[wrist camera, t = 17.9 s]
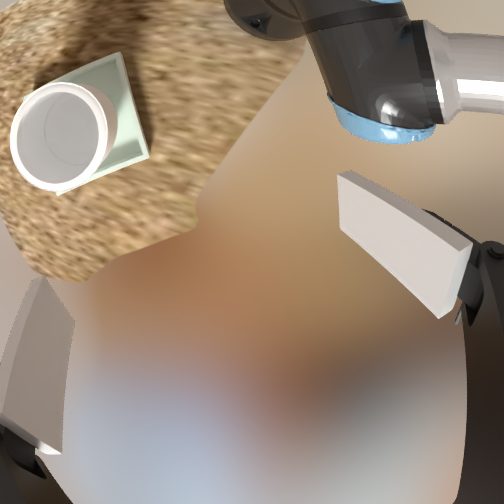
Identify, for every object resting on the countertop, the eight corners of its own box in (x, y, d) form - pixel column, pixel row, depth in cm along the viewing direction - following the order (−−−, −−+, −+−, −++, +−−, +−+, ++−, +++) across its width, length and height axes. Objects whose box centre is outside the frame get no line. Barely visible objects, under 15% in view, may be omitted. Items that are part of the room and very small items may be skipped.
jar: (42, 129, 30) (-8, 151, 18) (88, 71, 29) (54, 60, 17) (92, 173, 36) (65, 213, 24) (140, 117, 35) (132, 129, 23)
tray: (122, 54, 30) (119, 51, 27) (150, 152, 39) (149, 157, 36) (32, 96, 28) (22, 97, 25) (63, 188, 36) (57, 196, 34)
